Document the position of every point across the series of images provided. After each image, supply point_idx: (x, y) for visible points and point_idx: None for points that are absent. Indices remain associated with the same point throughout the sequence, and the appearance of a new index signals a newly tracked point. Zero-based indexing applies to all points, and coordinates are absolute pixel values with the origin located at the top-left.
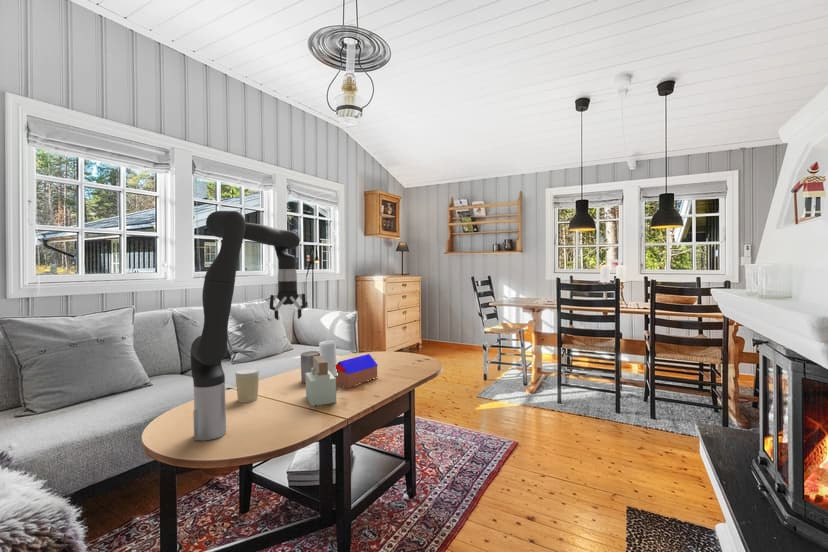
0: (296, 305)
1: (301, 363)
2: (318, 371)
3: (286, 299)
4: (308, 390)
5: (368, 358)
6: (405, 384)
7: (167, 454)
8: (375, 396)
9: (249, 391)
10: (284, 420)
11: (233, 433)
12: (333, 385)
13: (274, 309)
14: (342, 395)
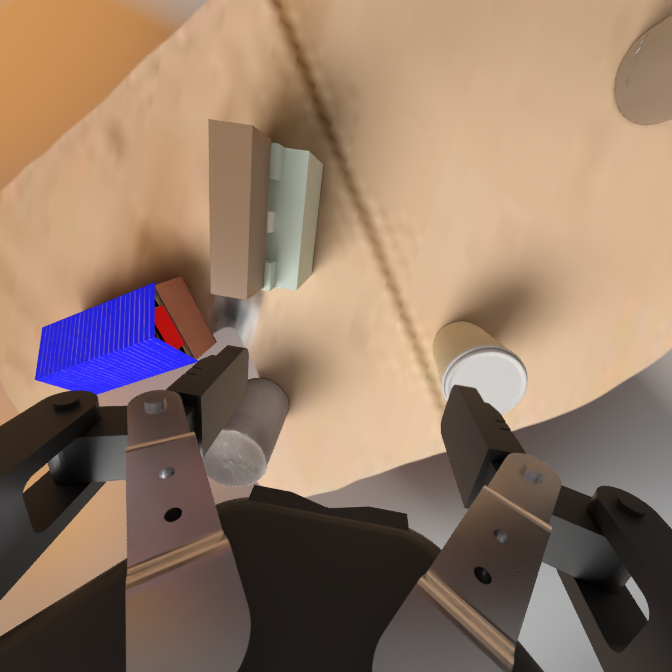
0: (185, 433)
1: (274, 438)
2: (266, 152)
3: (359, 639)
4: (311, 223)
5: (50, 357)
6: (9, 202)
7: None
8: (121, 138)
9: (471, 329)
10: (433, 75)
11: (603, 45)
12: None
13: (552, 489)
14: None
